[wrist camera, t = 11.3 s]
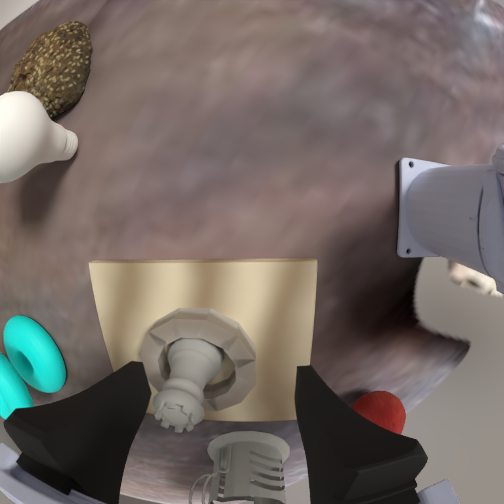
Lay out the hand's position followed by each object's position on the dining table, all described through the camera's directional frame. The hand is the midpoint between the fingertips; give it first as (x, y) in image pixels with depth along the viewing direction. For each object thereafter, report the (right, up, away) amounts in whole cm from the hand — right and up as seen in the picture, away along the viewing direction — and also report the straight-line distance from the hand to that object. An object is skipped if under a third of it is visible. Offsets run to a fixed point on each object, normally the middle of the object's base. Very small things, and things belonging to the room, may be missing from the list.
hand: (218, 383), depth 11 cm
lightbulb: (-14, +15, +7) cm, 22 cm away
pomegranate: (+13, -9, +12) cm, 20 cm away
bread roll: (-19, +24, +6) cm, 31 cm away
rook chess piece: (-3, -2, +10) cm, 10 cm away
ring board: (-3, -2, +11) cm, 11 cm away
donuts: (-24, -6, +12) cm, 27 cm away
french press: (+1, -17, +14) cm, 22 cm away
